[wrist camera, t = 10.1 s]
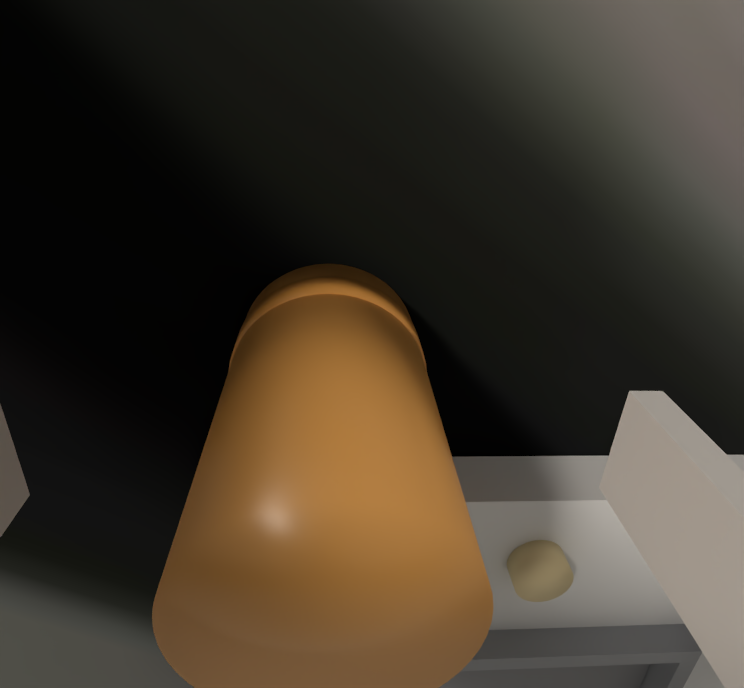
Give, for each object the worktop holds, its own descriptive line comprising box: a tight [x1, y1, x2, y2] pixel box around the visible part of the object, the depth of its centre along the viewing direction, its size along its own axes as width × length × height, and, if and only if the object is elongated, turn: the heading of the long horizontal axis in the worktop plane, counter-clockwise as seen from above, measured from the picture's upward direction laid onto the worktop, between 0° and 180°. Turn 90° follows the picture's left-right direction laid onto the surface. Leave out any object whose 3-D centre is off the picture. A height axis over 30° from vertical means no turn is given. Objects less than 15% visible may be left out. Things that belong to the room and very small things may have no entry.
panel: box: [439, 455, 744, 688], centre depth 20 cm, size 16×18×4 cm
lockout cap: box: [152, 264, 494, 688], centre depth 11 cm, size 5×5×8 cm
